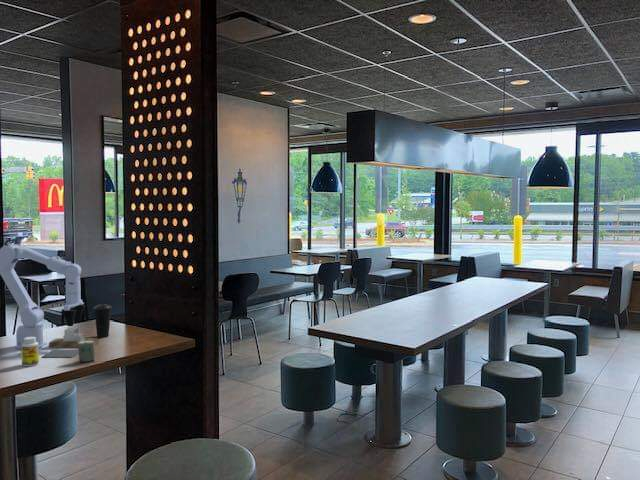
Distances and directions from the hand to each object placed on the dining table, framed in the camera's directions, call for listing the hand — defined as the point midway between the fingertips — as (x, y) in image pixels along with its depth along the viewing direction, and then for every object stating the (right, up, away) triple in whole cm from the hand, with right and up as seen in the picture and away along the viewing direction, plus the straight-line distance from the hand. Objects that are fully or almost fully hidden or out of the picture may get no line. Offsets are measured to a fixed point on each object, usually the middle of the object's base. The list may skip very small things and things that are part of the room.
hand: (73, 324), depth 228 cm
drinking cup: (+6, -8, +16) cm, 19 cm away
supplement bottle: (-4, -11, -28) cm, 30 cm away
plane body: (0, -9, +1) cm, 9 cm away
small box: (+15, -11, -23) cm, 29 cm away
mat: (+2, -10, -13) cm, 17 cm away
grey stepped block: (0, -7, 0) cm, 7 cm away
